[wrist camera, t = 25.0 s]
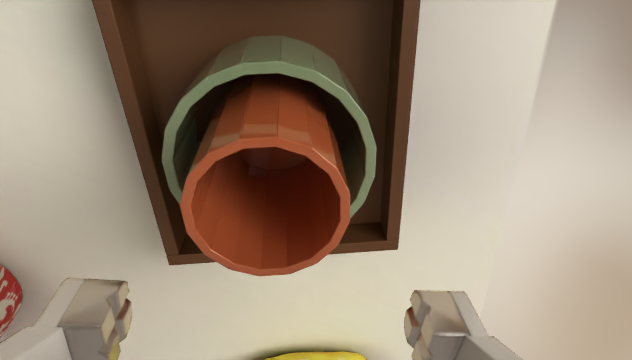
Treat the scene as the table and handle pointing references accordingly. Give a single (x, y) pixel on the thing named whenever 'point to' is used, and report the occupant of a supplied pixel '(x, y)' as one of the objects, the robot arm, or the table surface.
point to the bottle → (319, 356)
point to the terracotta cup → (267, 179)
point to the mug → (8, 298)
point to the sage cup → (271, 59)
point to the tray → (206, 41)
